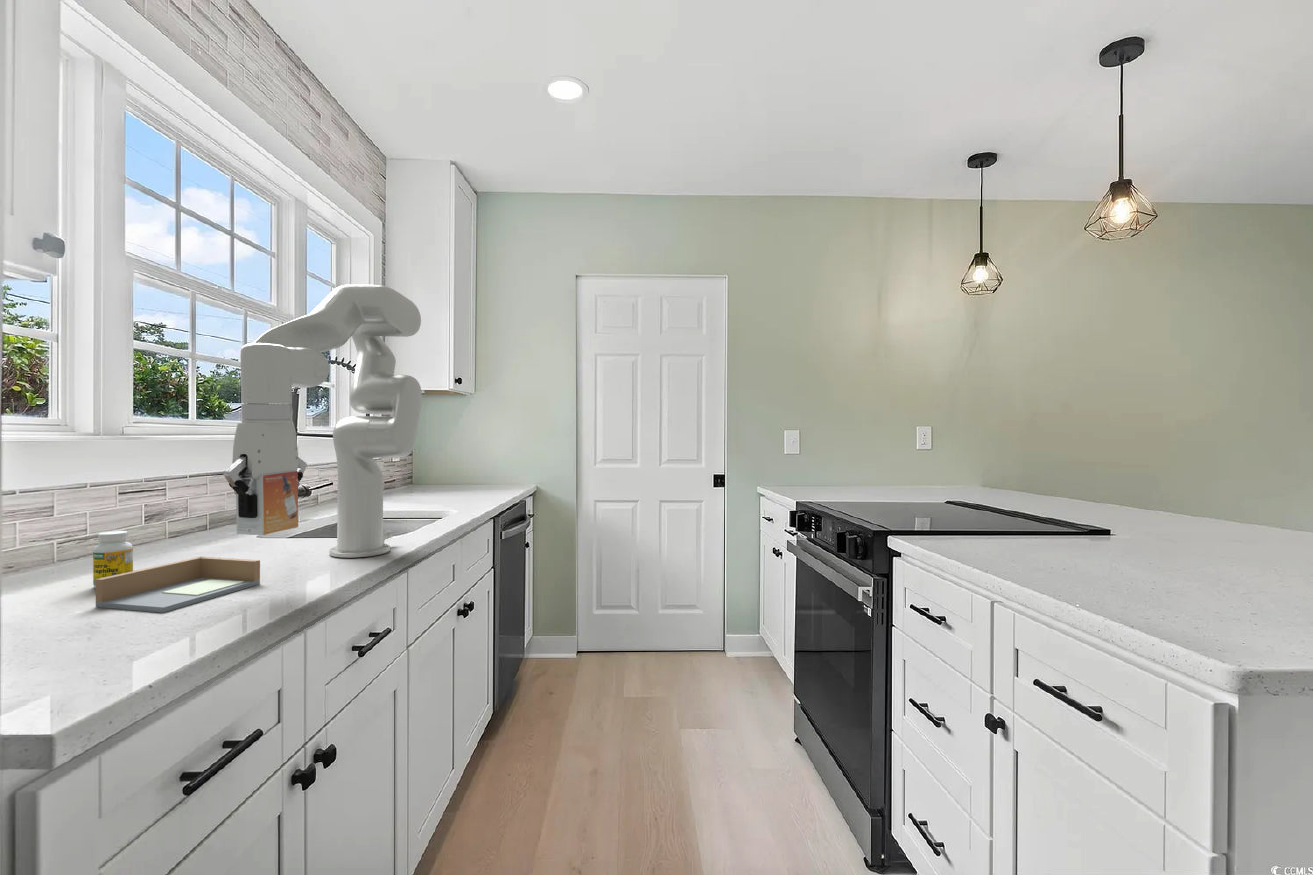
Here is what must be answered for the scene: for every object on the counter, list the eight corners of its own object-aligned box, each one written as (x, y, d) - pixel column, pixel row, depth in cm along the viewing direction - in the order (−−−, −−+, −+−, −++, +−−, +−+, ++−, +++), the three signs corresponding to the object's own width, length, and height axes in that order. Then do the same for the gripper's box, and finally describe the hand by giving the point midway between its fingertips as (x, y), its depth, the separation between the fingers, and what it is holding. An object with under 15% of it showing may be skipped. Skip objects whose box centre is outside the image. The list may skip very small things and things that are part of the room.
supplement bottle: (139, 581, 112) (139, 529, 112) (121, 588, 107) (121, 534, 107) (105, 582, 111) (105, 530, 111) (85, 590, 106) (85, 535, 106)
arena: (200, 579, 114) (200, 556, 114) (259, 583, 111) (260, 560, 111) (95, 606, 96) (95, 579, 96) (163, 612, 94) (163, 584, 94)
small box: (263, 536, 103) (262, 475, 102) (235, 534, 104) (234, 473, 103) (299, 527, 111) (298, 470, 110) (273, 525, 112) (272, 469, 111)
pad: (210, 580, 110) (210, 579, 110) (243, 582, 109) (243, 581, 109) (162, 593, 102) (162, 591, 102) (197, 595, 100) (197, 594, 100)
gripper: (287, 414, 116) (289, 504, 116) (203, 414, 99) (206, 521, 99) (322, 414, 114) (323, 506, 115) (243, 415, 97) (245, 523, 98)
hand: (268, 512), depth 107 cm, fingers closed on small box, 8 cm apart
